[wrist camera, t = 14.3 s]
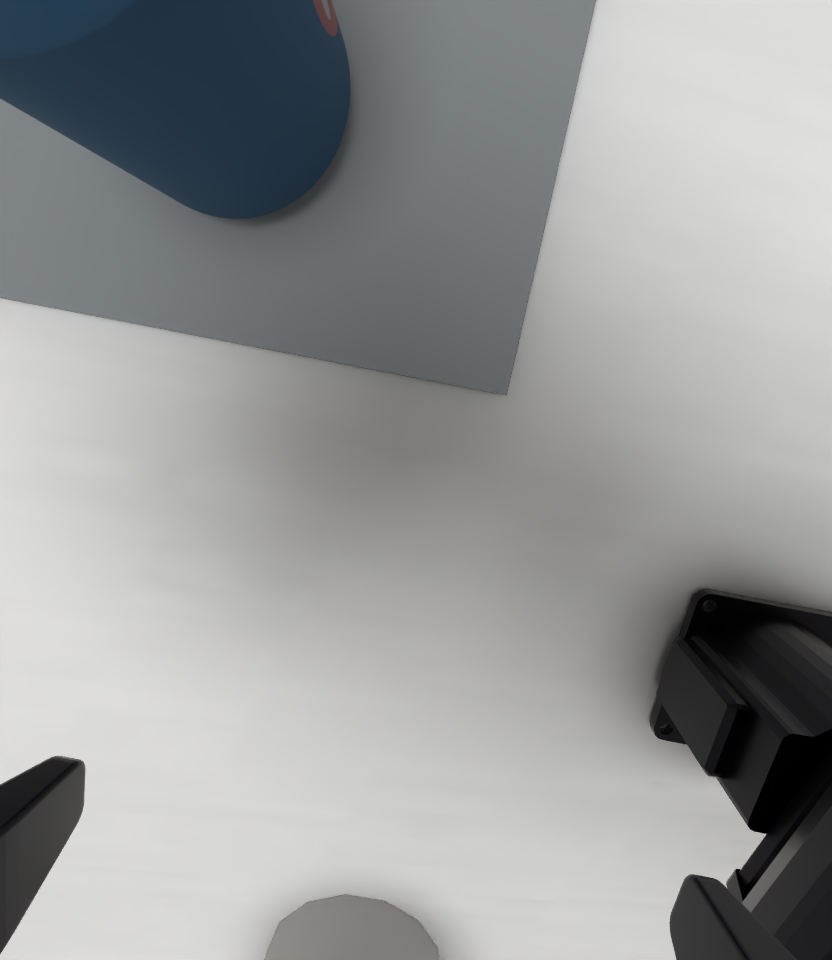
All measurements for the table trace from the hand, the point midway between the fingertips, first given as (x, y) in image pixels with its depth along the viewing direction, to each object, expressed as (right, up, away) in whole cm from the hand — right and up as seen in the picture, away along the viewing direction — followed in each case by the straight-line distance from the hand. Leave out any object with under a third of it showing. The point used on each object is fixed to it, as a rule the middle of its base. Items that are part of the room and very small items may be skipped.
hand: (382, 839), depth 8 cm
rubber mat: (-5, +17, +9) cm, 20 cm away
